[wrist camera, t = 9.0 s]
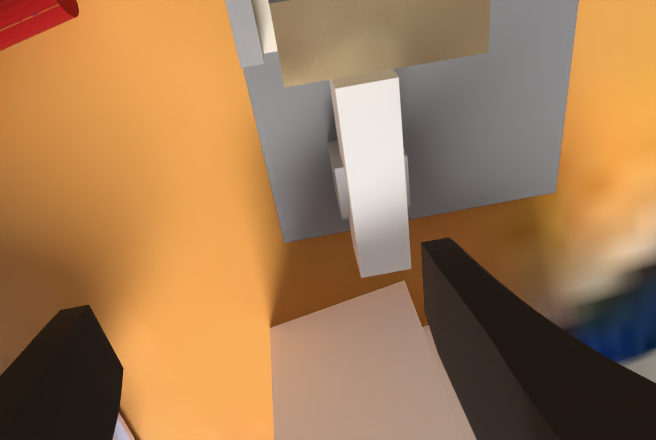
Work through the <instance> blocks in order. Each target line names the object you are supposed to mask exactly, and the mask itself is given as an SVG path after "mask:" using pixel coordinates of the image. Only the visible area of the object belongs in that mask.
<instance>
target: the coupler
mask: <svg viewBox="0 0 656 440" xmlns="http://www.w3.org/2000/svg"><path fill="white" fill-rule="evenodd" d="M268 3H269V7H270V12H271V18H272V23H273V28H274V34H275V39H276V45H277V50H278V55H279V61H280V66H281V72H282V77H283V83H284V88H285V87H290V86H296V85H302V84H308V83H314V82H320V81H326V80H332V79H337V78H343V77H349V76H355V75H361V74H367V73H373V72H378V71H384V70H390V69H396V68H402V67H408V66H414V65H420V64H425V63H431V62H437V61H443V60H449V59H455V58H461V57H466V56H472V55H478V54H484V53H489V30H490V5H491V0H268Z"/></svg>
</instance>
